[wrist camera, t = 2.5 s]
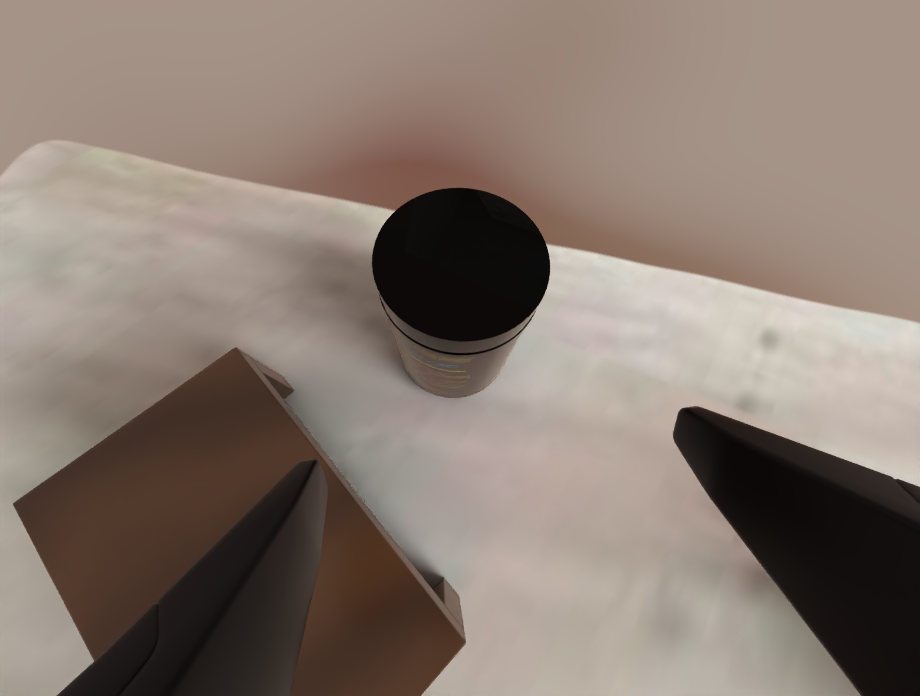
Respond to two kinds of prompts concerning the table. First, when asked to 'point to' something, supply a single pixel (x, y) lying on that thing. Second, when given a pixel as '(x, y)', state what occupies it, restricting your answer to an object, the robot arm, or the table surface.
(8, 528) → the table surface
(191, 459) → the shelf
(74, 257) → the table surface
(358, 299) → the table surface
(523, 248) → the supplement container
